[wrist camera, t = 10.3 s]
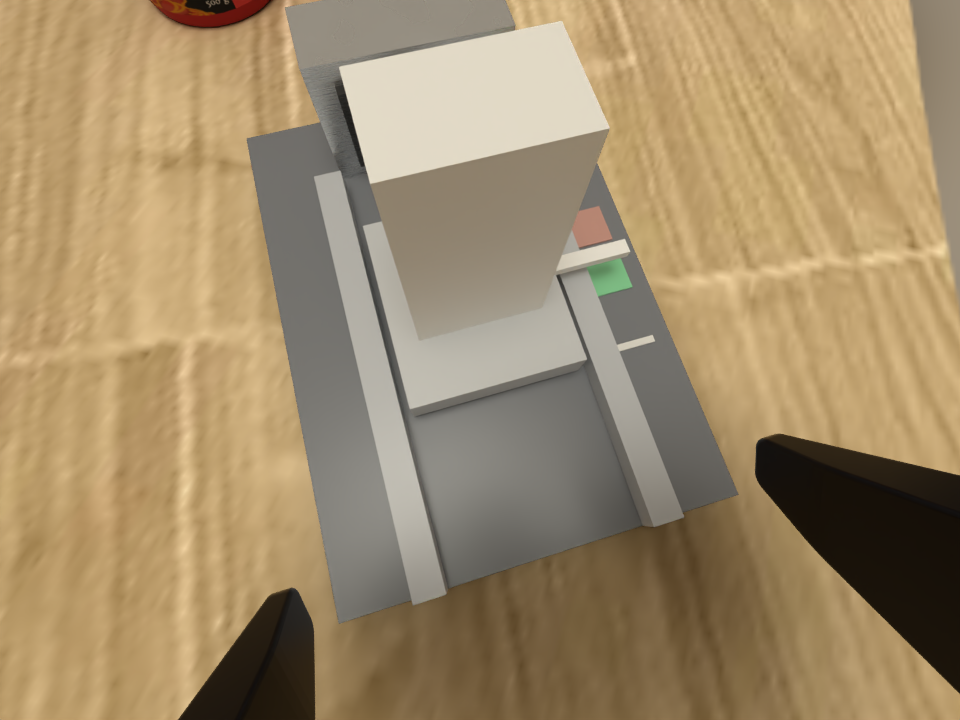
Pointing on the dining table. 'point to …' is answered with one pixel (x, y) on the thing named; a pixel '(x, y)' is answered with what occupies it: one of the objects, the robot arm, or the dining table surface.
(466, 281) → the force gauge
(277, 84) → the dining table surface
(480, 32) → the grey block with recess
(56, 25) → the dining table surface
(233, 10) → the canned food
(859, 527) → the robot arm
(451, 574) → the track
